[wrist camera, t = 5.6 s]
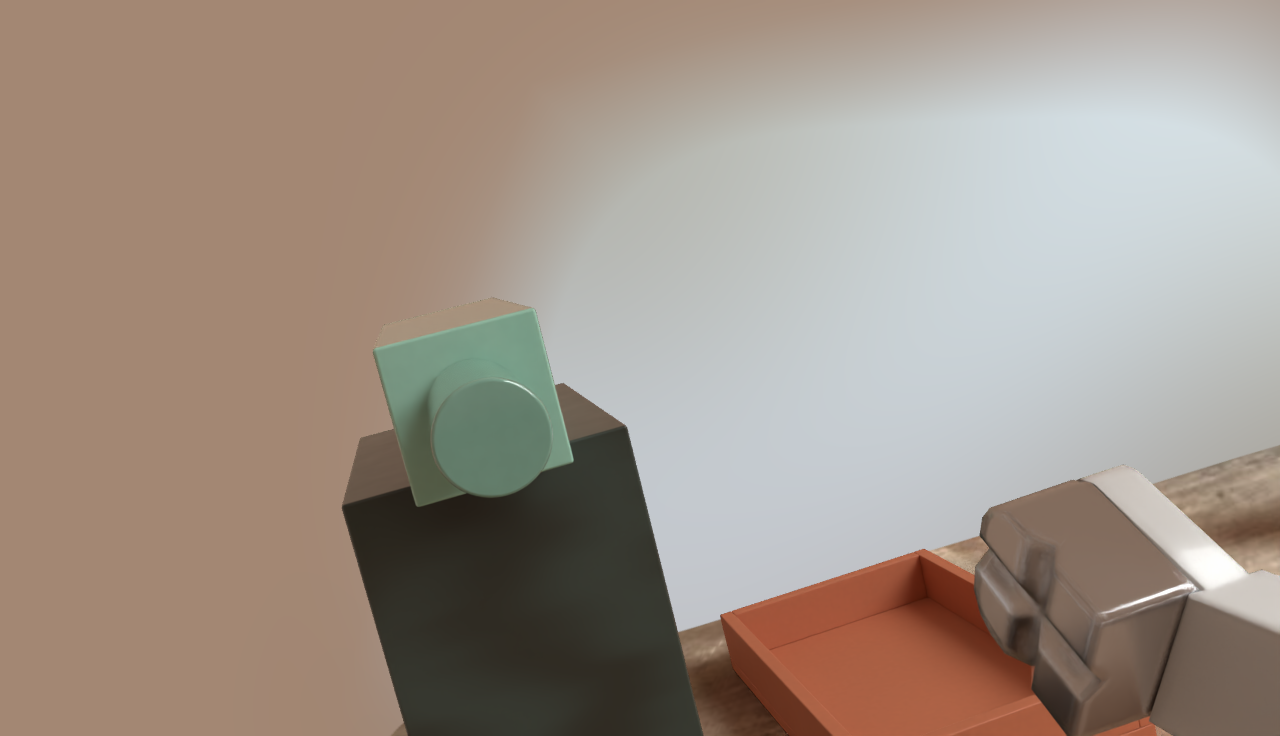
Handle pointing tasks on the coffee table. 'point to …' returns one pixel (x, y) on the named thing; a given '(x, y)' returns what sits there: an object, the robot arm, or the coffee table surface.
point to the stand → (523, 596)
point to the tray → (888, 658)
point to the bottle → (472, 400)
